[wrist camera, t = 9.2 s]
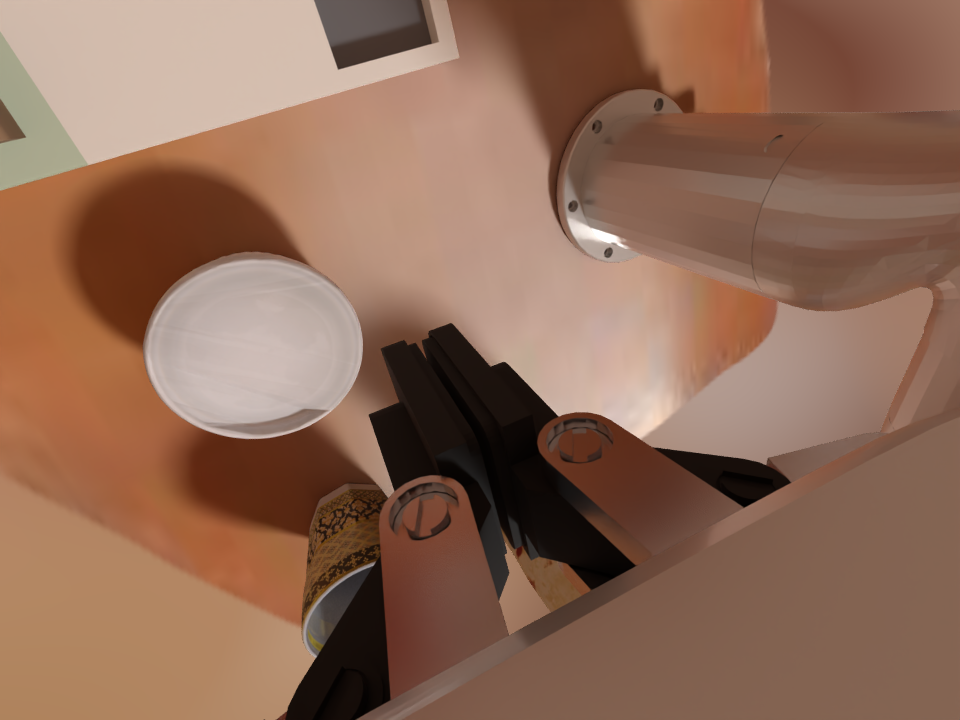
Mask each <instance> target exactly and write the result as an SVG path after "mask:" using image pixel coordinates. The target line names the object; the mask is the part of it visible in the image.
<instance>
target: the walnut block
mask: <svg viewBox="0 0 960 720" xmlns="http://www.w3.org/2000/svg"><path fill="white" fill-rule="evenodd" d="M22 138H26V136H25V135H24V133H23V132H22V130H21V129H20V127H19V126H18V124H17V123H16V121H15V120H14V118H13V117H12V115H11V114H10V112H9V111H8V109H7V108H6V106H5V105H4V103H3V102H2V100H1V99H0V143H5V142H9V141H13V140H17V139H22Z"/></svg>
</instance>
